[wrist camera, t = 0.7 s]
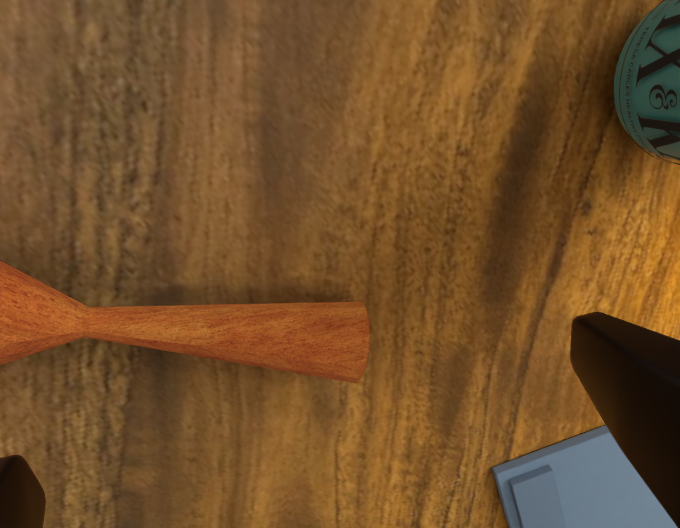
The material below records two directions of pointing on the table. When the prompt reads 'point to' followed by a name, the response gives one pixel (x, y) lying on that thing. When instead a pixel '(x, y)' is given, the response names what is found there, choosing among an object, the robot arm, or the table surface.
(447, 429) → the table surface
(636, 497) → the grey-blue flat slab
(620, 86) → the beverage bottle
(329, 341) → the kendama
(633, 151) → the table surface
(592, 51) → the table surface
